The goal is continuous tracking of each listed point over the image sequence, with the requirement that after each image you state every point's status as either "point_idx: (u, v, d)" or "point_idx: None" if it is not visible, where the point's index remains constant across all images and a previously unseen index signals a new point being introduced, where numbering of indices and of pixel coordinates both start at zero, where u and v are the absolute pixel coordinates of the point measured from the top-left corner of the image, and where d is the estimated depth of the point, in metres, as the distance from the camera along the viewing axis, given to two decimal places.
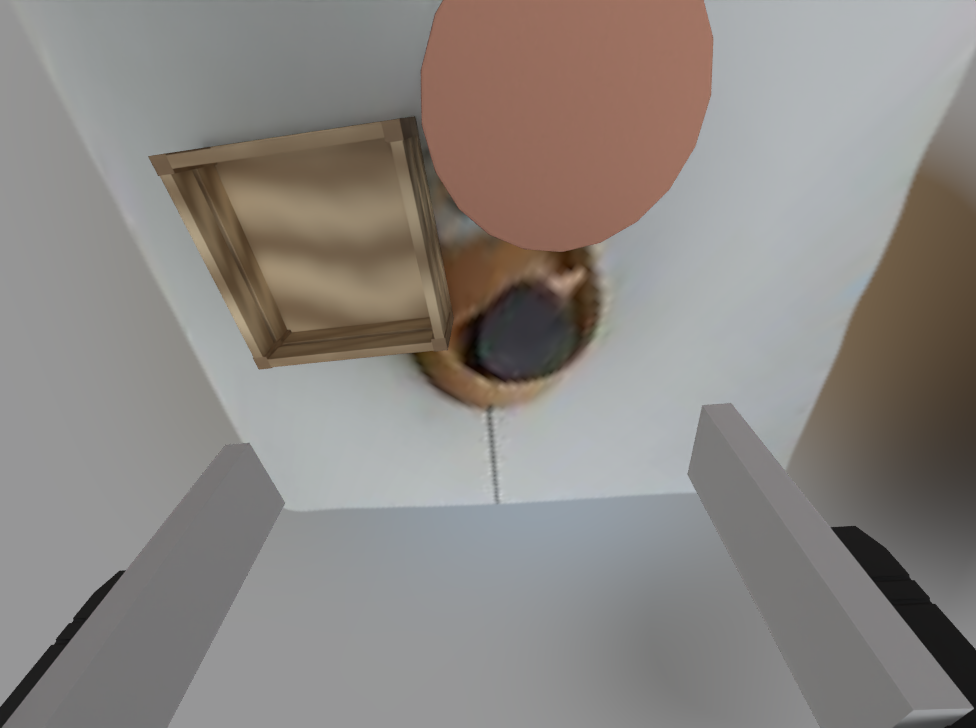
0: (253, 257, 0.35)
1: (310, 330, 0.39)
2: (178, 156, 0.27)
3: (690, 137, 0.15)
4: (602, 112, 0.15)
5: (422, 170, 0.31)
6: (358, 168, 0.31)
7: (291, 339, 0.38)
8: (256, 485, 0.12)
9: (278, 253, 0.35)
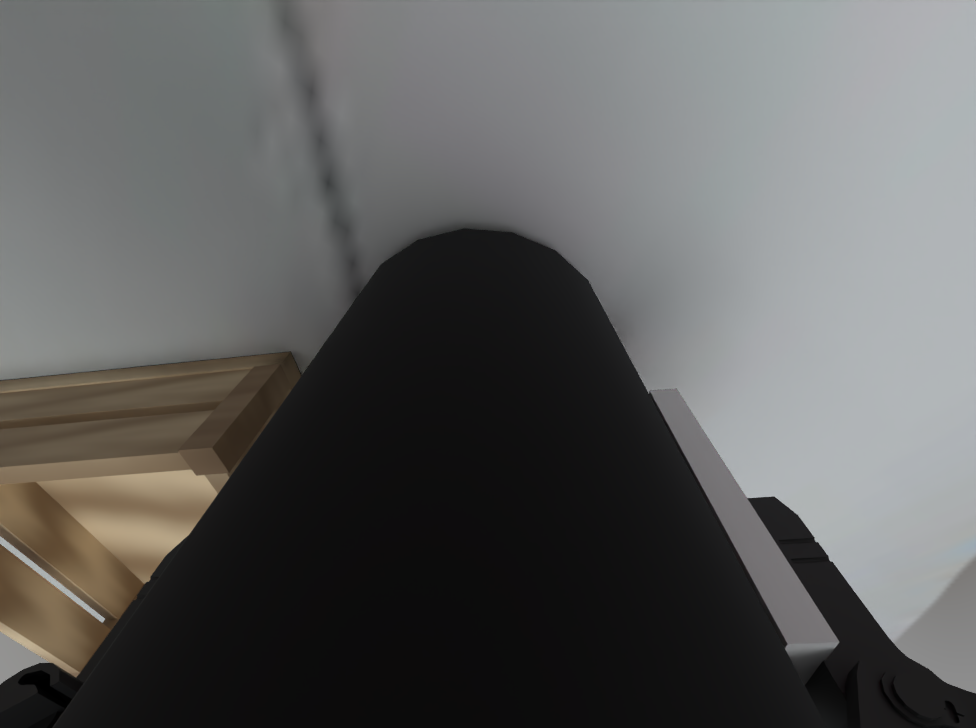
0: (66, 518, 0.23)
1: None
2: None
3: None
4: None
5: None
6: None
7: None
8: None
9: (105, 512, 0.23)
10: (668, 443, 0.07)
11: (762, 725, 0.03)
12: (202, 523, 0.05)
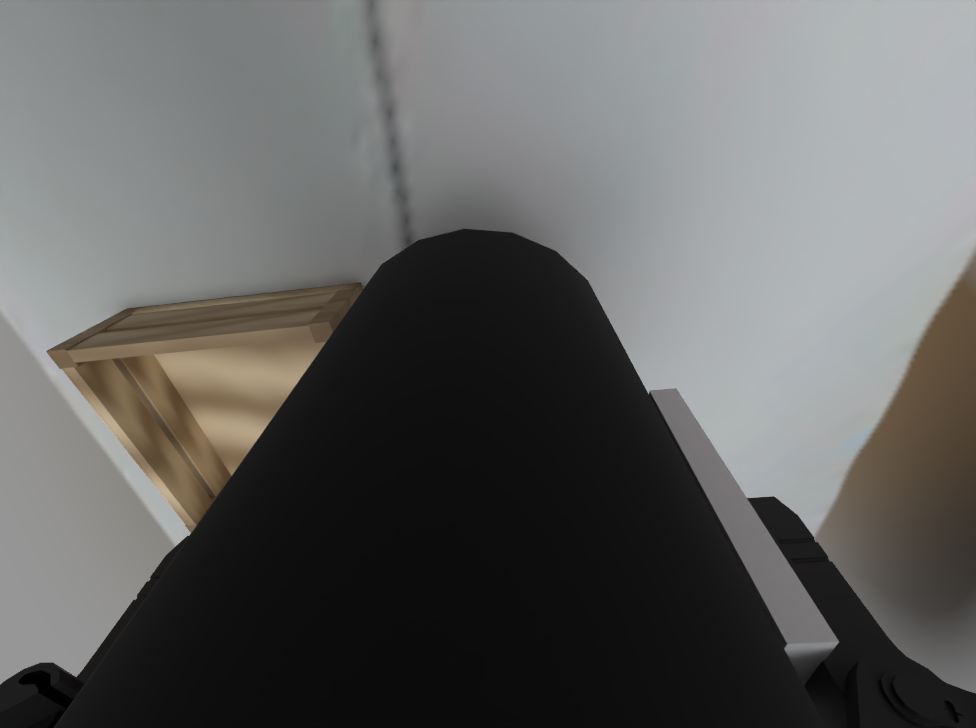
0: (188, 413, 0.32)
1: None
2: (80, 351, 0.23)
3: None
4: None
5: None
6: None
7: None
8: None
9: (215, 409, 0.32)
10: (667, 442, 0.07)
11: (760, 721, 0.03)
12: (205, 521, 0.06)
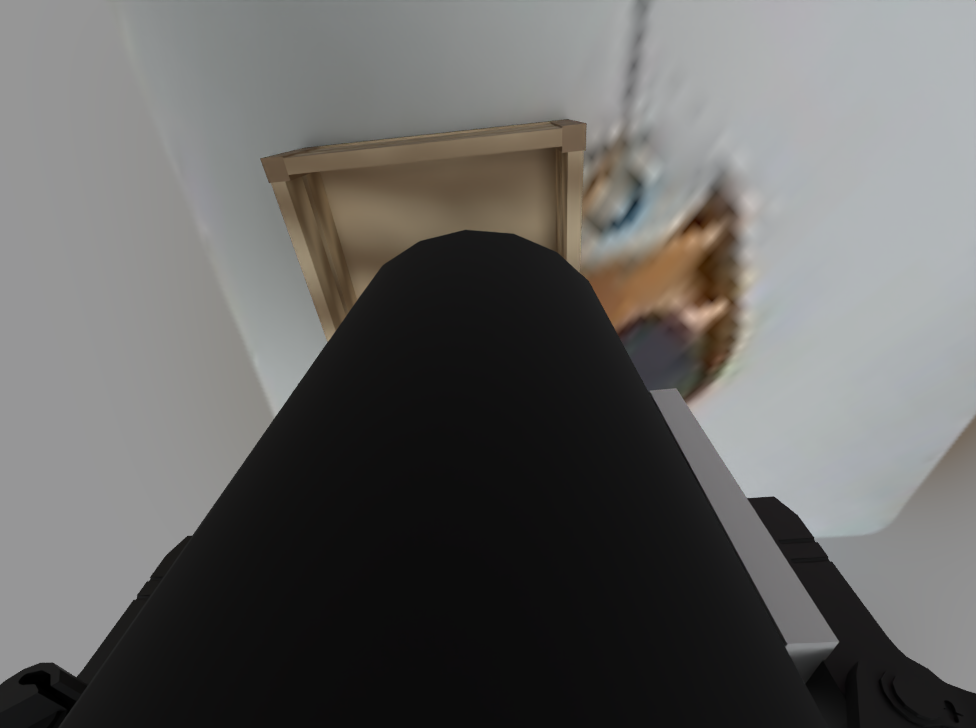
0: (349, 277, 0.30)
1: None
2: (298, 160, 0.21)
3: None
4: None
5: None
6: (492, 178, 0.26)
7: None
8: None
9: None
10: (670, 444, 0.07)
11: (765, 726, 0.03)
12: (206, 524, 0.06)
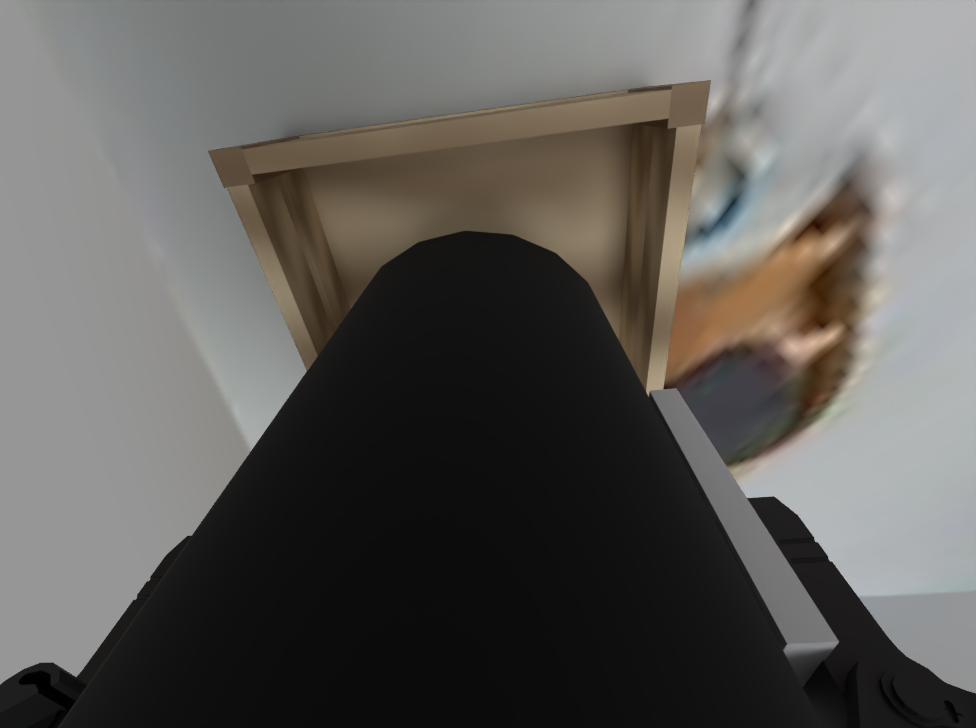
0: (348, 310, 0.23)
1: None
2: (265, 151, 0.14)
3: None
4: None
5: None
6: (541, 173, 0.19)
7: None
8: None
9: None
10: (668, 446, 0.07)
11: None
12: (204, 526, 0.06)
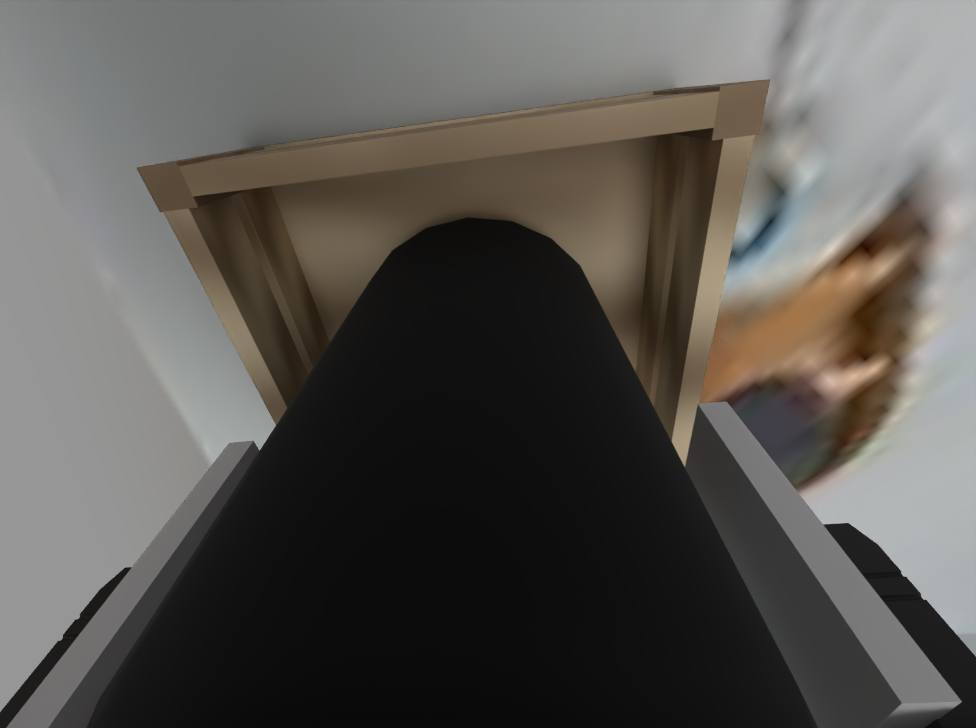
0: (327, 343, 0.20)
1: None
2: (208, 168, 0.11)
3: None
4: None
5: None
6: (549, 189, 0.16)
7: None
8: None
9: None
10: (640, 393, 0.09)
11: (684, 551, 0.05)
12: (272, 445, 0.07)
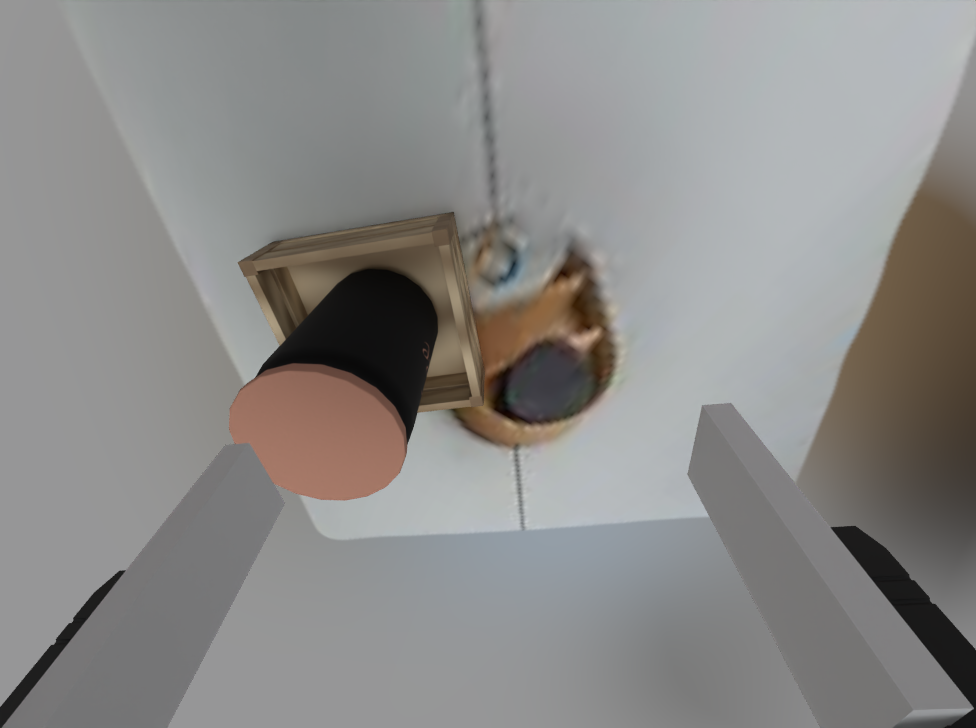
0: None
1: None
2: (262, 261, 0.32)
3: (399, 453, 0.25)
4: (342, 444, 0.25)
5: (460, 255, 0.37)
6: (404, 255, 0.37)
7: None
8: (256, 485, 0.12)
9: None
10: (397, 327, 0.29)
11: (367, 347, 0.25)
12: None
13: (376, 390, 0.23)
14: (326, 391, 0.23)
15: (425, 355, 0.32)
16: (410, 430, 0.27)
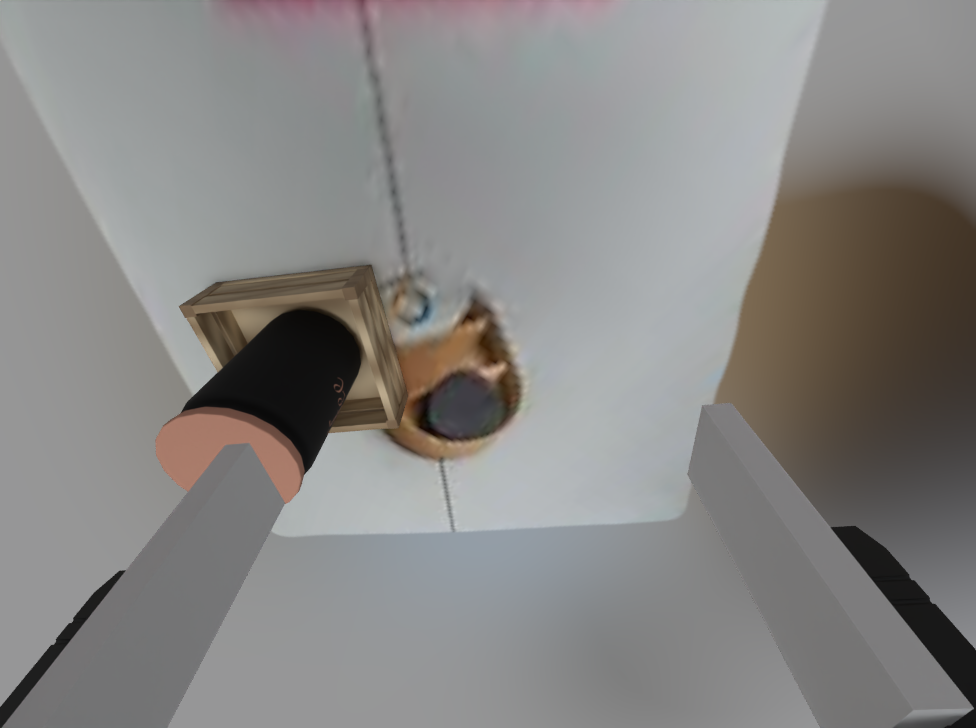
0: None
1: None
2: (199, 306, 0.38)
3: (296, 476, 0.31)
4: None
5: (377, 301, 0.43)
6: (330, 299, 0.43)
7: None
8: (256, 485, 0.12)
9: None
10: (307, 369, 0.35)
11: (273, 390, 0.32)
12: (212, 378, 0.34)
13: (273, 428, 0.29)
14: (231, 429, 0.29)
15: (336, 390, 0.38)
16: (311, 456, 0.33)
